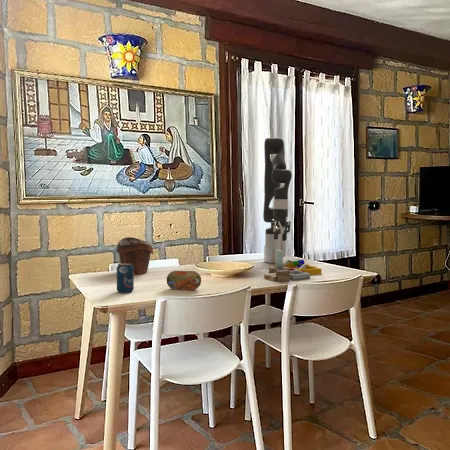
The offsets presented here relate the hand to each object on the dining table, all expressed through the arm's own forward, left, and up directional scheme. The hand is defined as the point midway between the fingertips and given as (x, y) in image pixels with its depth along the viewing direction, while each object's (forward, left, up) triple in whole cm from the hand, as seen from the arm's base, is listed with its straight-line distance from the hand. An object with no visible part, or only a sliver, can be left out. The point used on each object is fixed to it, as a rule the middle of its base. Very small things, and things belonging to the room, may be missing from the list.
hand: (280, 239), depth 238 cm
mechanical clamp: (0, +16, -18) cm, 24 cm away
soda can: (+5, -85, -18) cm, 87 cm away
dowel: (0, 0, -18) cm, 18 cm away
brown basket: (-36, -66, -18) cm, 77 cm away
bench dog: (+17, -11, -18) cm, 27 cm away
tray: (+13, 0, -18) cm, 22 cm away
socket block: (0, 0, -18) cm, 18 cm away
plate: (+11, -11, -18) cm, 24 cm away
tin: (+12, -61, -18) cm, 65 cm away
